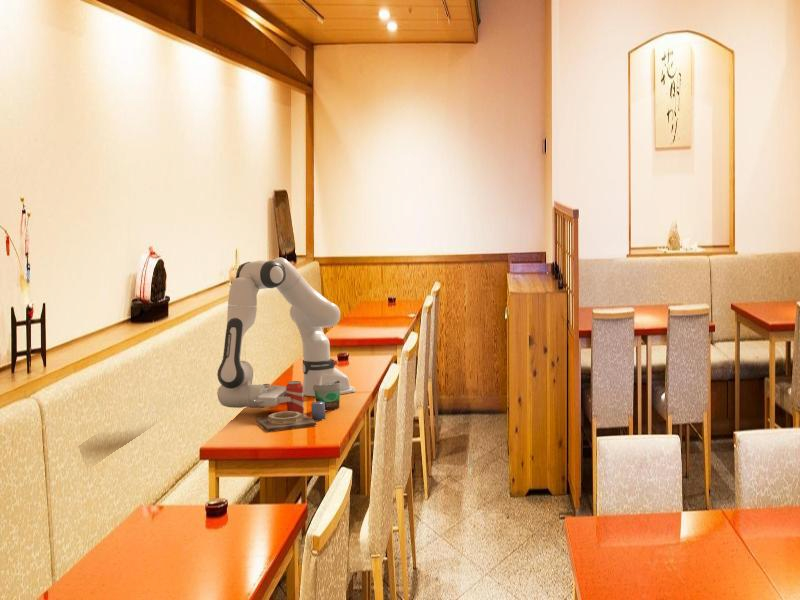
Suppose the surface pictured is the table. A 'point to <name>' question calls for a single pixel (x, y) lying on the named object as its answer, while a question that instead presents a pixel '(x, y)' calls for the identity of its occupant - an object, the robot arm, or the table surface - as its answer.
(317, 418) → the lavender rounded cylinder
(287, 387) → the beverage can
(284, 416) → the square plate with ring
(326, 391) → the food container
